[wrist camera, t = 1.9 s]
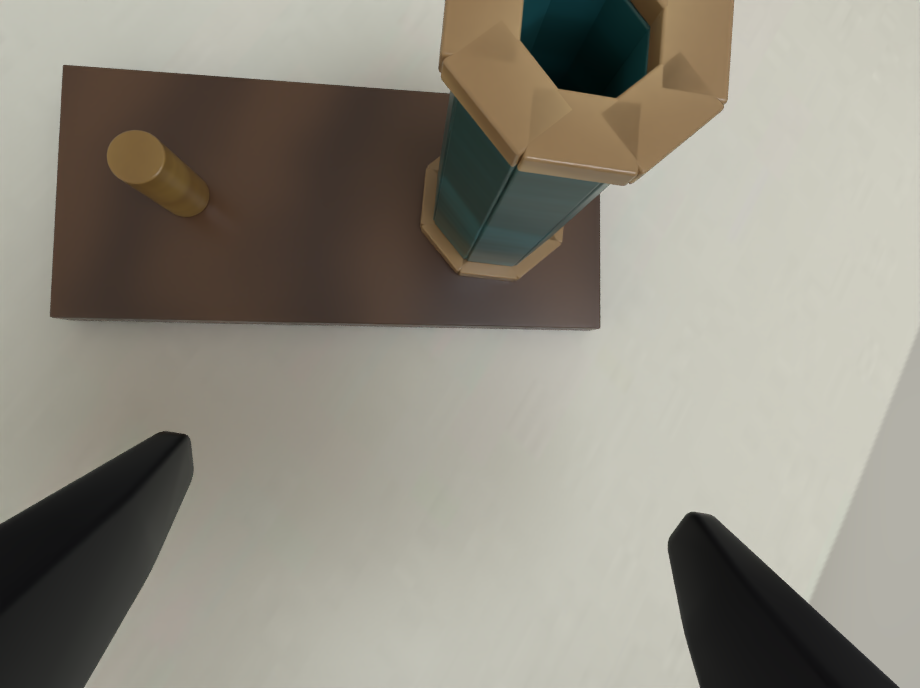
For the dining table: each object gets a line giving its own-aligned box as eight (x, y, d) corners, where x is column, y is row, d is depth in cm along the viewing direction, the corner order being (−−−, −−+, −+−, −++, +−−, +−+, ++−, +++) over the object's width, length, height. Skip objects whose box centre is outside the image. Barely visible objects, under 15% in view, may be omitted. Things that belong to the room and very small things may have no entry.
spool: (587, 222, 20) (794, 57, 9) (483, 307, 20) (576, 236, 9) (501, 113, 20) (611, -182, 9) (393, 196, 20) (373, -18, 9)
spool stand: (589, 118, 22) (638, 51, 17) (590, 330, 21) (640, 320, 17) (83, 82, 20) (-19, -7, 15) (71, 320, 19) (-38, 305, 14)
